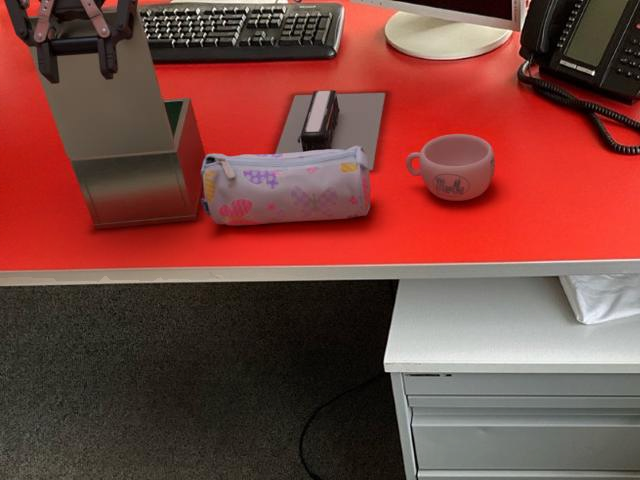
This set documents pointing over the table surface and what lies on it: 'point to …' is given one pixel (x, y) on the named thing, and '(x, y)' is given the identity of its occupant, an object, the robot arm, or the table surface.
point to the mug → (455, 166)
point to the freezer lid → (105, 94)
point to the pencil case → (286, 186)
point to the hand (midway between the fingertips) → (80, 78)
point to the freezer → (147, 178)
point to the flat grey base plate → (333, 123)
